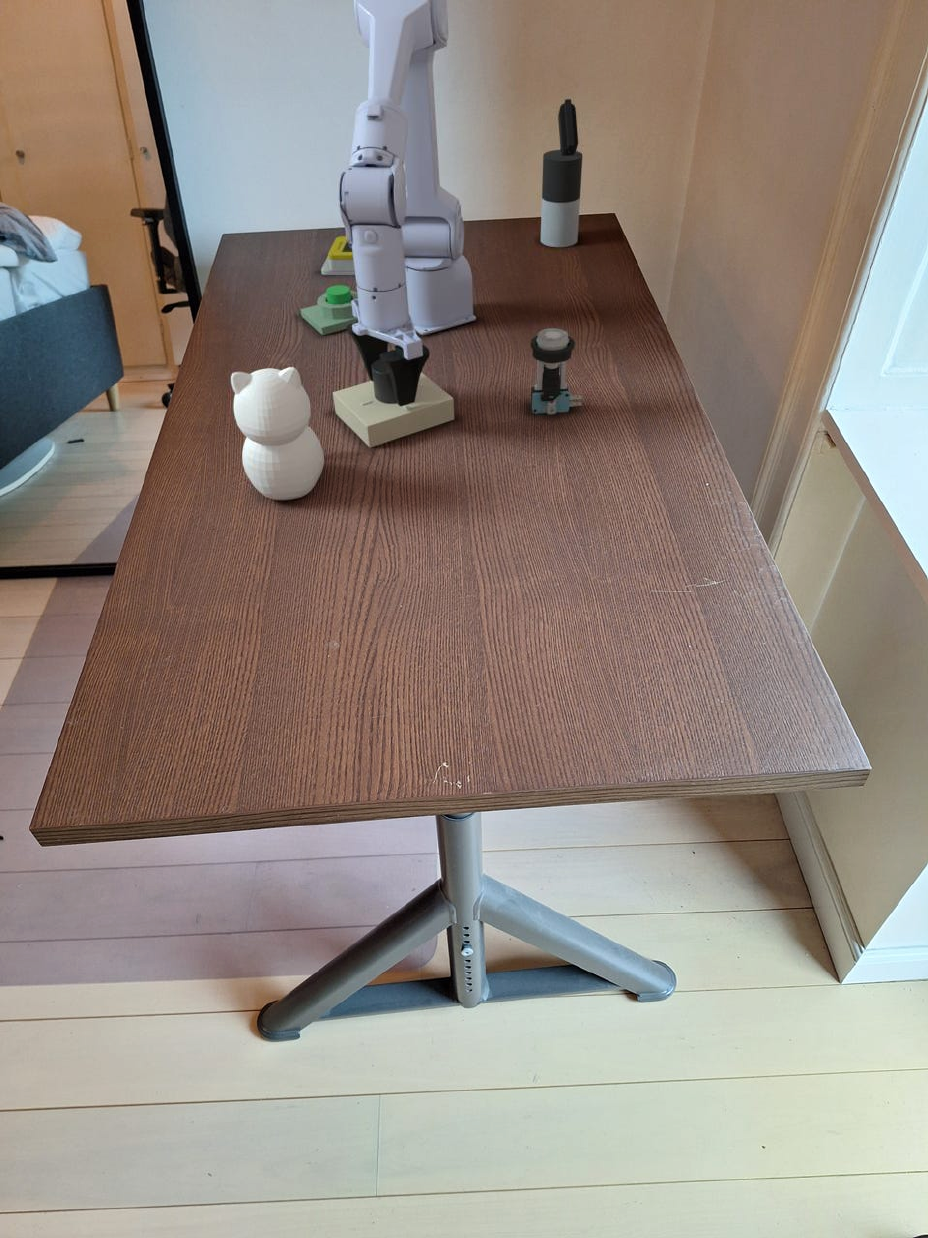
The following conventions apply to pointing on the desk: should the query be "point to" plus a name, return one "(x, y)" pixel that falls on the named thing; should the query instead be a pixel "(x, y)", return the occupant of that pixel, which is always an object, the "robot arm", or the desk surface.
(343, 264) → the emergency button
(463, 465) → the desk surface
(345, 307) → the switch block
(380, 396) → the dimmer knob
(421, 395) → the dimmer panel
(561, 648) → the desk surface
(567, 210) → the track light
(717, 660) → the desk surface
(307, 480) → the cat figurine
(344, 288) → the light button
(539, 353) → the push button
